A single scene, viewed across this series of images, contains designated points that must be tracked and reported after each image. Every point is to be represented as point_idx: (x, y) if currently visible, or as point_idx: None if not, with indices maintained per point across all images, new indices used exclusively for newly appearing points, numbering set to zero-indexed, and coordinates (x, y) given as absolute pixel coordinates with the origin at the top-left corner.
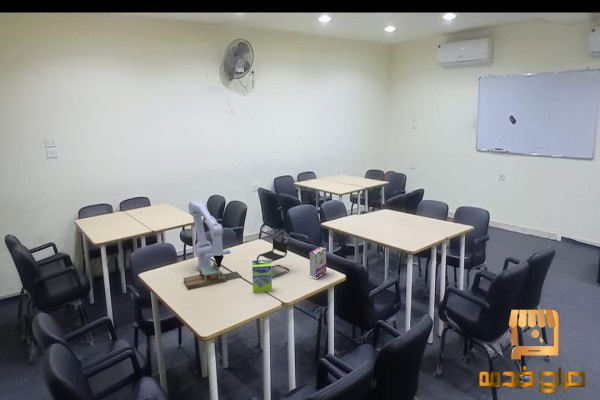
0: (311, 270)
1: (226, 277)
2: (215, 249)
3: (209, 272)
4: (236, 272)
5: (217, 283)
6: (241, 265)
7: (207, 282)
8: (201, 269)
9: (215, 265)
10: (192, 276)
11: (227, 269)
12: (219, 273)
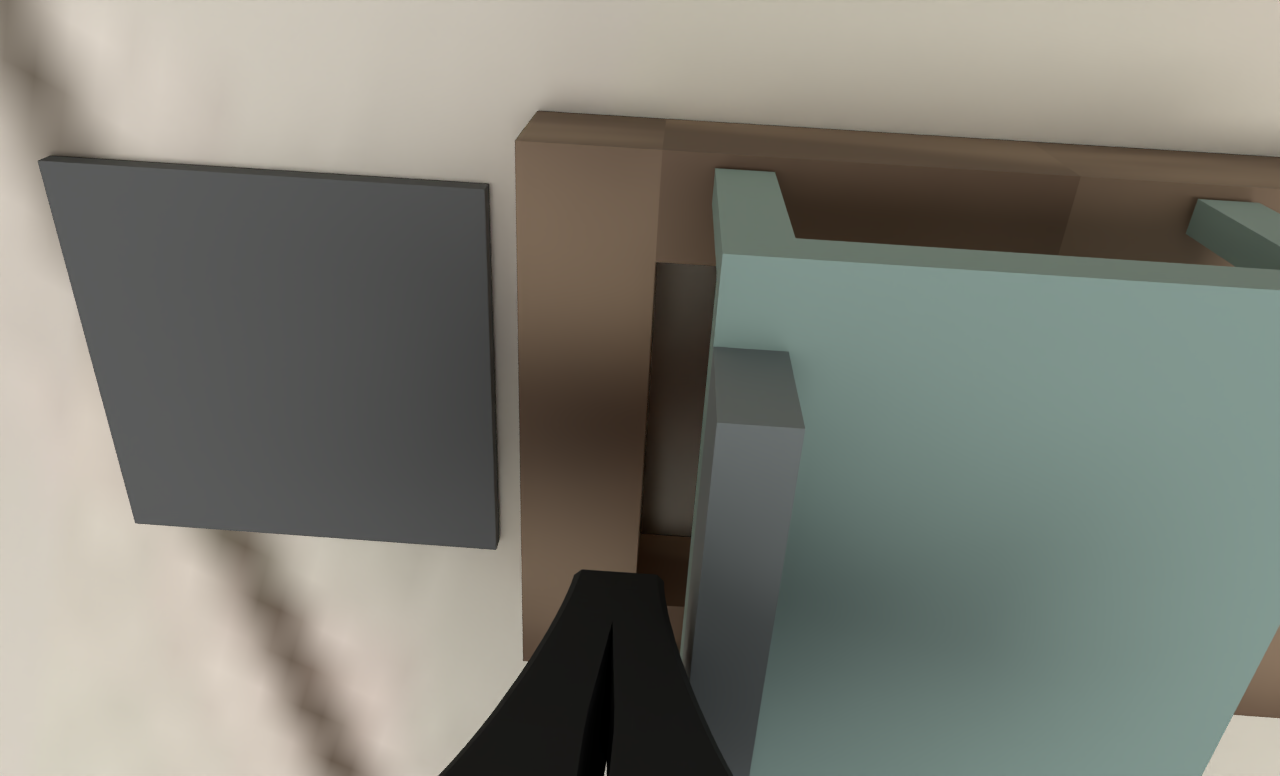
0: None
1: (462, 339)
2: None
3: (1122, 417)
4: (151, 471)
5: (812, 131)
6: (4, 728)
7: (1162, 174)
8: (1179, 764)
9: (755, 698)
10: (1265, 699)
11: (326, 711)
12: (747, 228)
